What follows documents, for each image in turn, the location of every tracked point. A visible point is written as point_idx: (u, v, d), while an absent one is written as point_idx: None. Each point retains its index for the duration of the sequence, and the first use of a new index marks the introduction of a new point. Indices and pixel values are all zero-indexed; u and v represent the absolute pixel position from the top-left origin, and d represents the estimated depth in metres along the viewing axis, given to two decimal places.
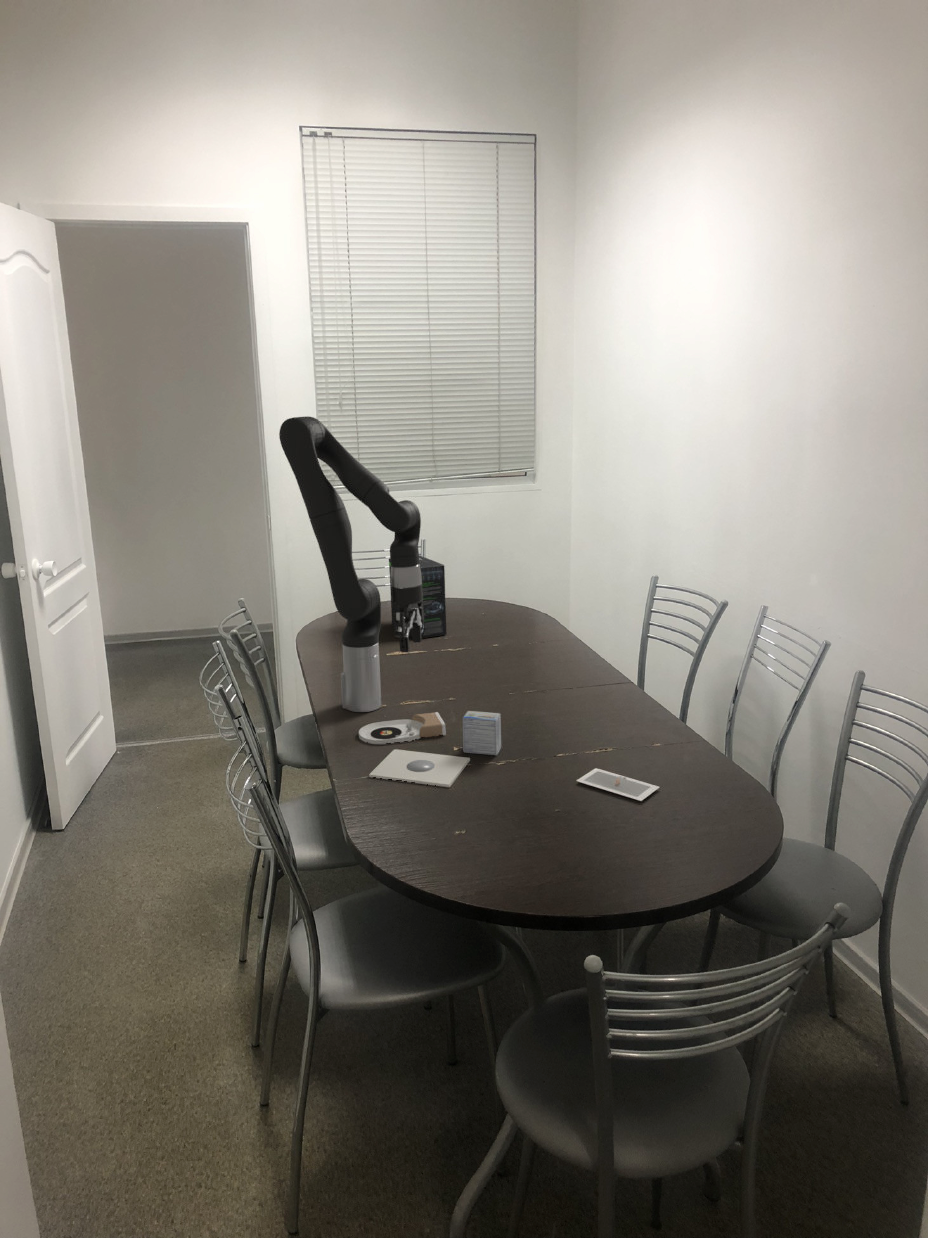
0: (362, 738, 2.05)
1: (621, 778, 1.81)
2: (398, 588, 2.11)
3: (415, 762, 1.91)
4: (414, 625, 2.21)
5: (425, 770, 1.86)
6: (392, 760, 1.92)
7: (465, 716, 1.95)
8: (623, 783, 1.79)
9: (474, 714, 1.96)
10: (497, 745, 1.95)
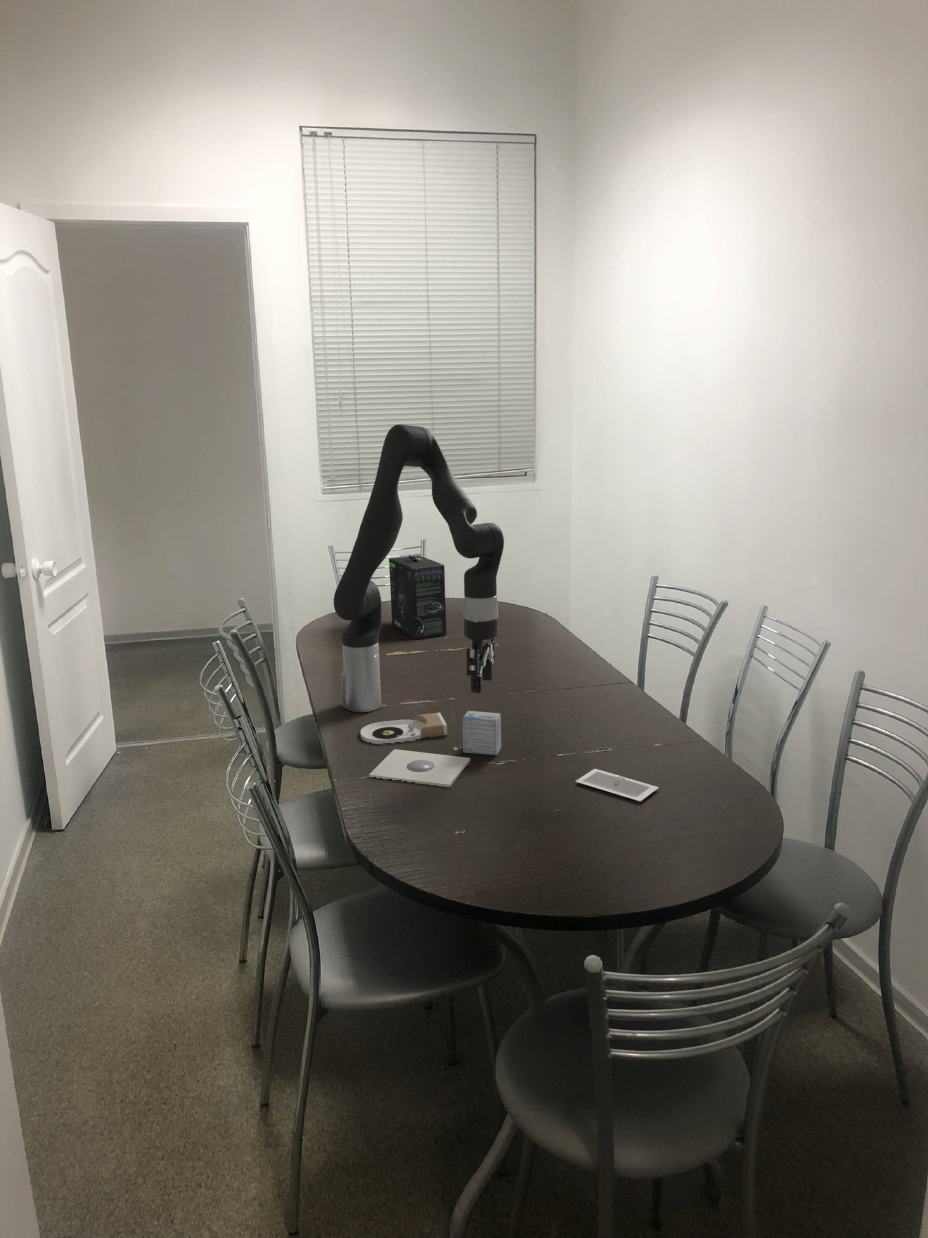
0: (363, 738, 2.05)
1: (620, 778, 1.81)
2: (472, 621, 1.87)
3: (415, 762, 1.91)
4: None
5: (425, 770, 1.86)
6: (392, 760, 1.92)
7: (465, 716, 1.95)
8: (622, 783, 1.79)
9: (474, 714, 1.96)
10: (497, 745, 1.95)
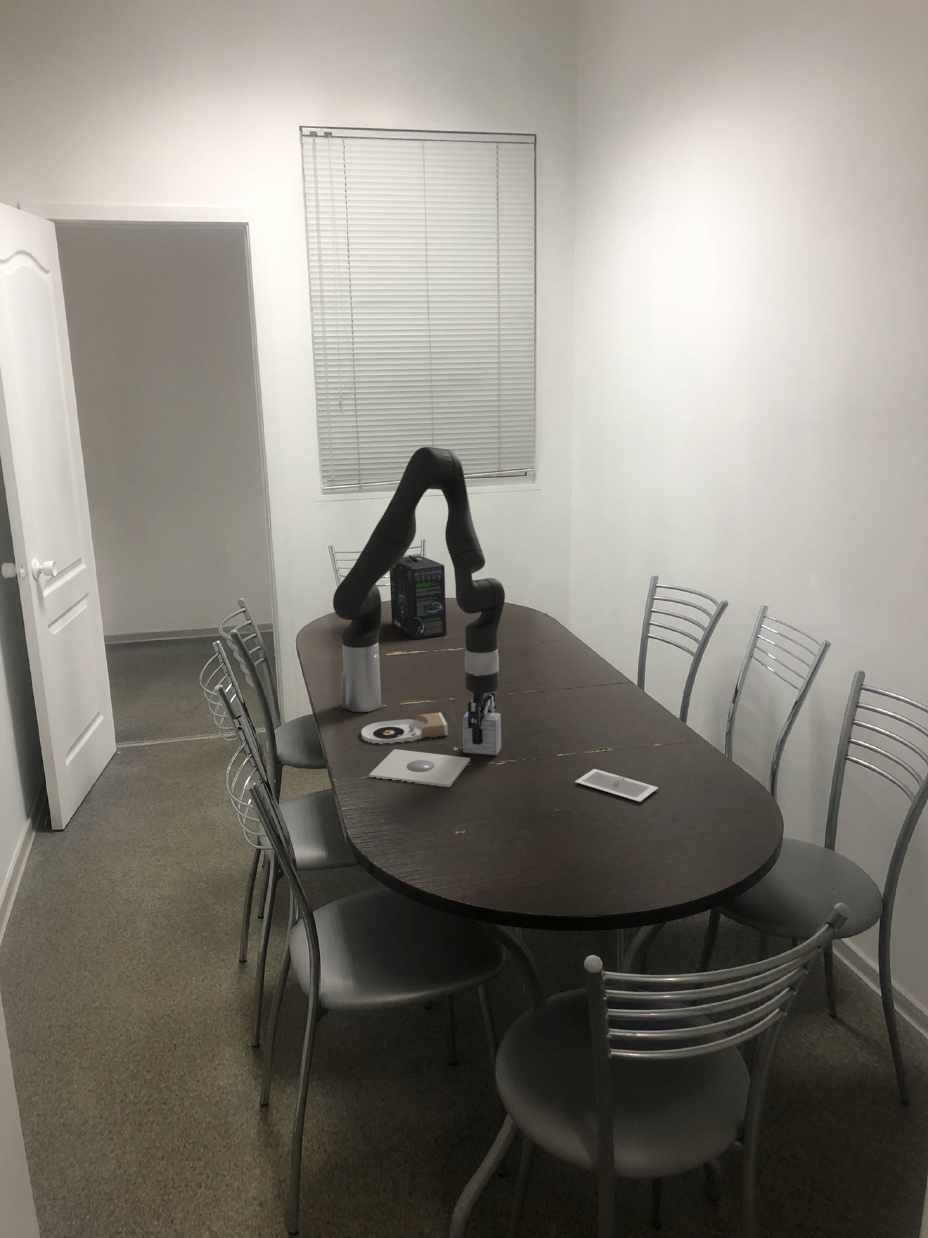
0: (364, 738, 2.05)
1: (620, 779, 1.81)
2: (474, 675, 1.90)
3: (415, 762, 1.91)
4: None
5: (425, 770, 1.86)
6: (392, 760, 1.92)
7: (465, 716, 1.95)
8: (621, 784, 1.79)
9: None
10: (497, 745, 1.95)
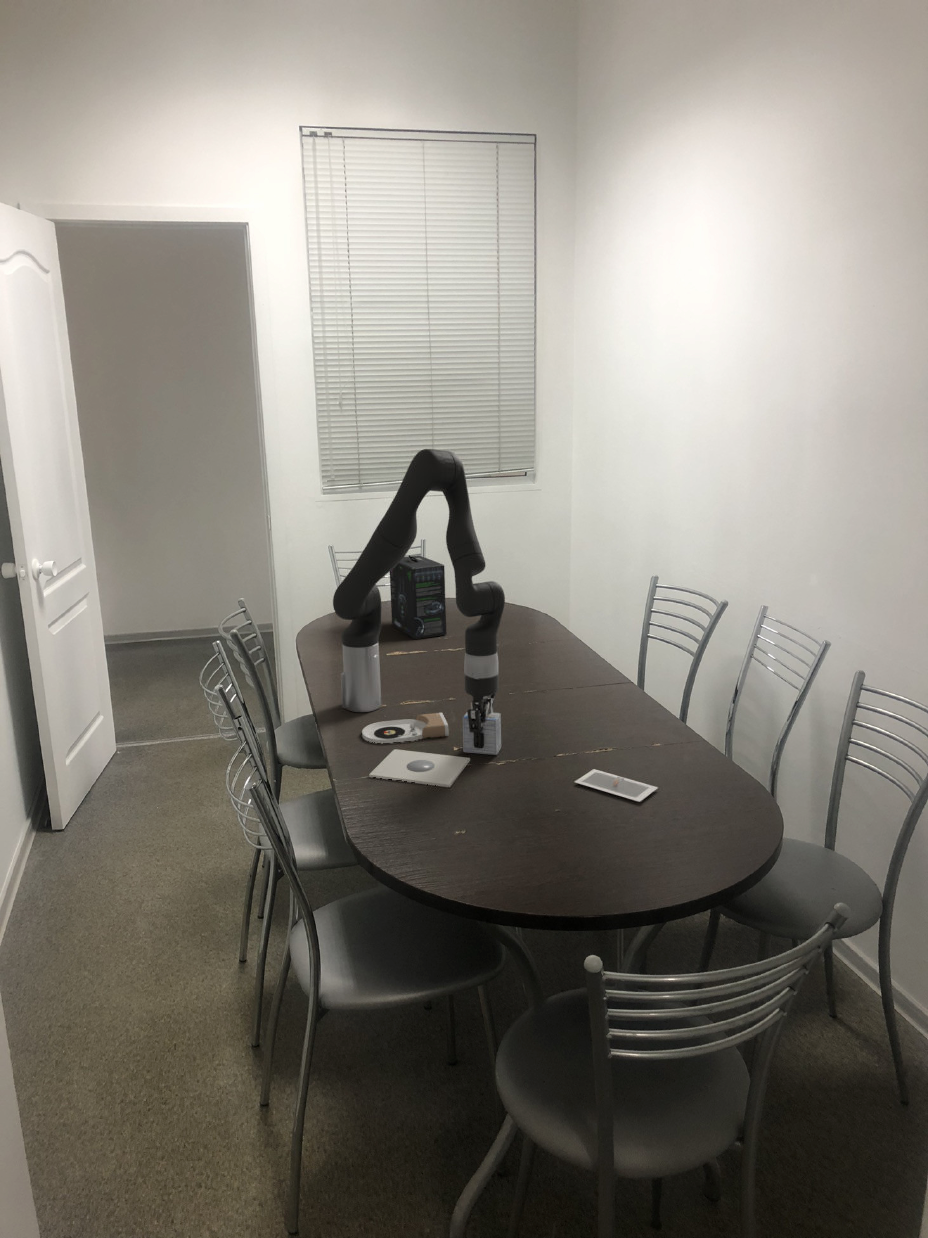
0: (365, 737, 2.05)
1: (619, 779, 1.81)
2: (473, 678, 1.90)
3: (415, 762, 1.91)
4: None
5: (425, 770, 1.86)
6: (392, 760, 1.92)
7: (465, 716, 1.95)
8: (621, 784, 1.79)
9: None
10: (497, 745, 1.95)
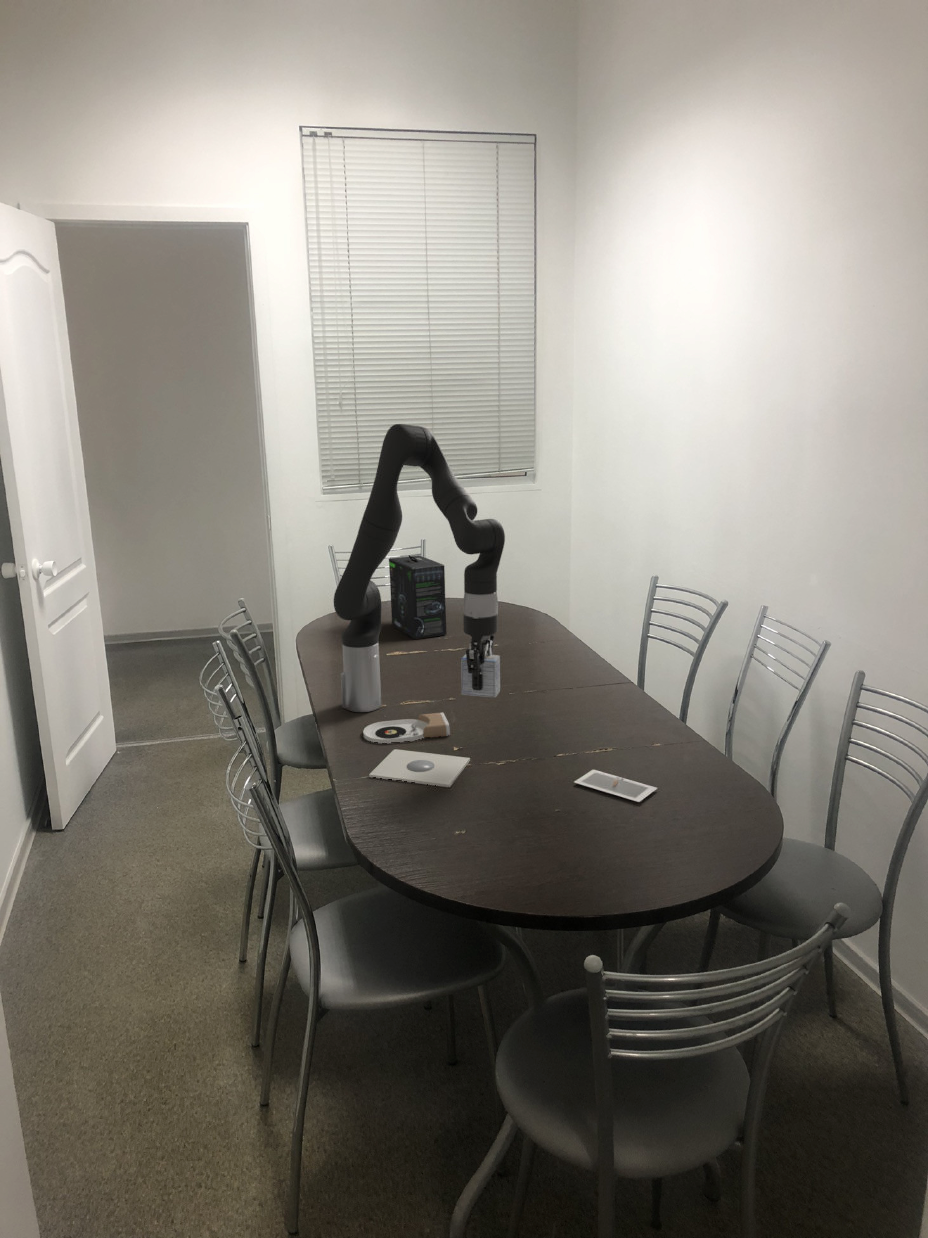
0: (366, 737, 2.05)
1: (619, 779, 1.81)
2: (472, 617, 1.87)
3: (415, 762, 1.91)
4: None
5: (425, 770, 1.86)
6: (392, 760, 1.92)
7: (464, 657, 1.92)
8: (620, 784, 1.78)
9: None
10: (496, 687, 1.92)
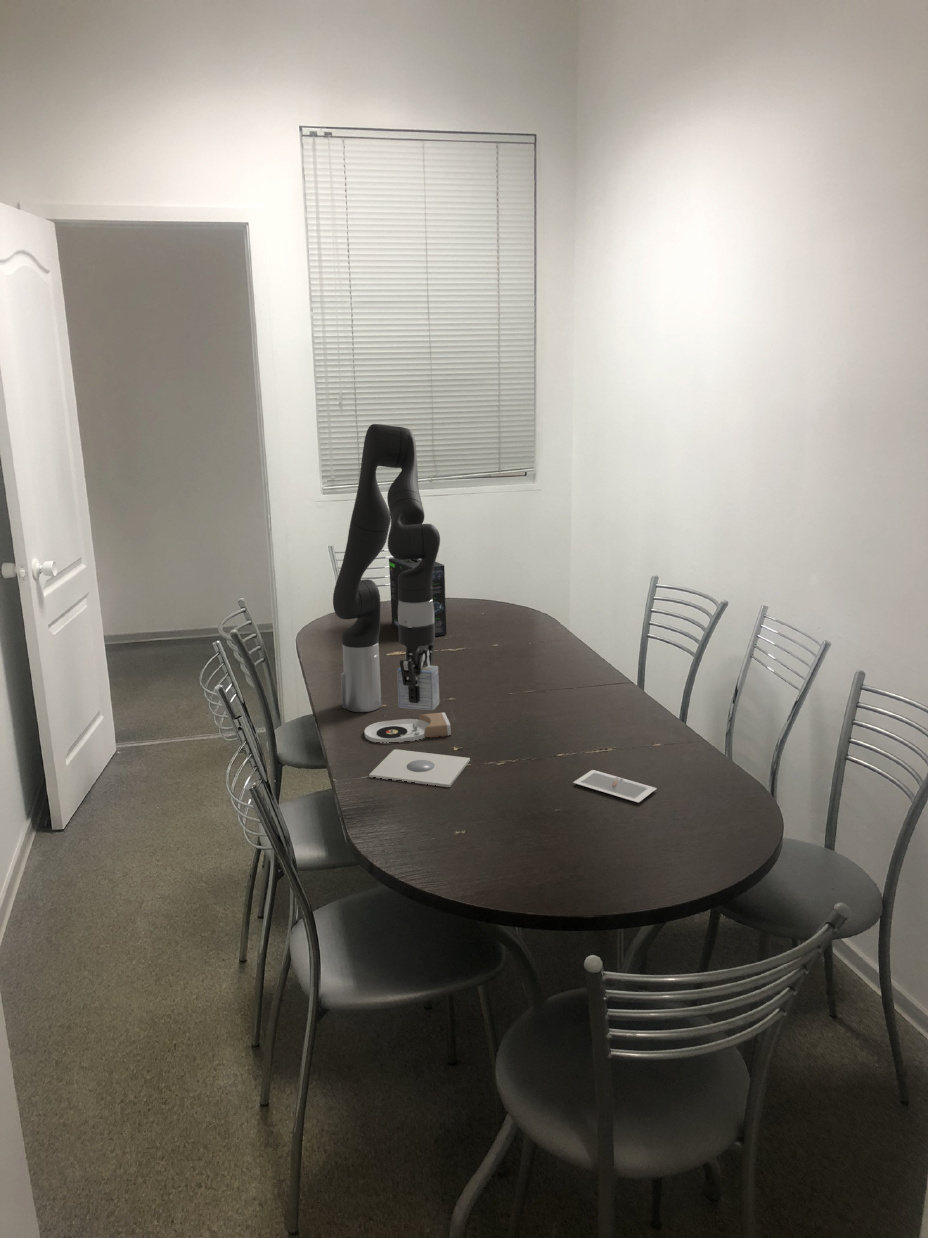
0: (367, 737, 2.05)
1: (618, 779, 1.81)
2: (406, 627, 1.78)
3: (415, 762, 1.91)
4: None
5: (425, 770, 1.86)
6: (392, 760, 1.92)
7: (400, 668, 1.83)
8: (620, 785, 1.78)
9: None
10: (434, 699, 1.83)
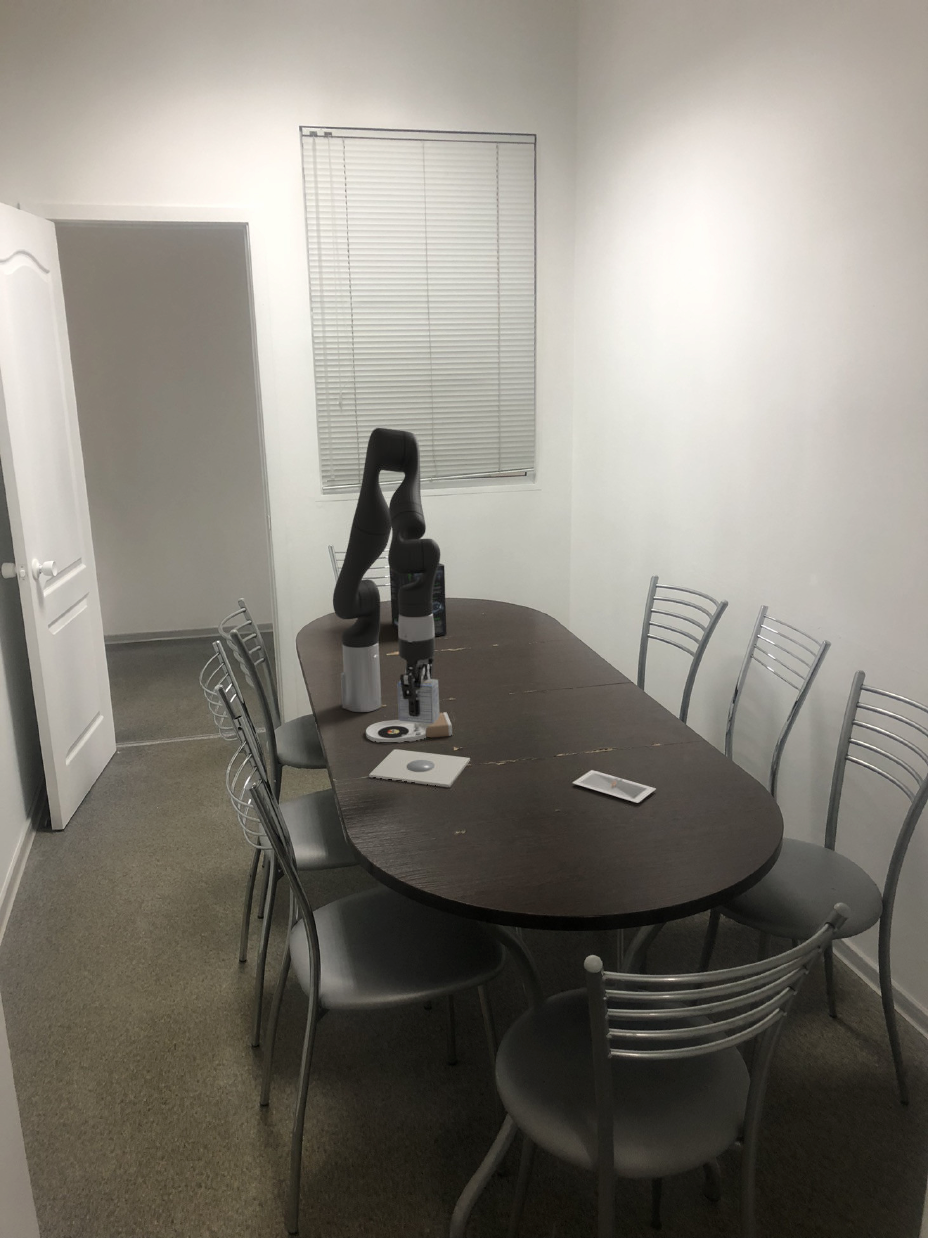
0: (368, 736, 2.06)
1: (617, 780, 1.80)
2: (407, 641, 1.78)
3: (415, 762, 1.91)
4: None
5: (425, 770, 1.86)
6: (392, 760, 1.92)
7: (400, 682, 1.84)
8: (619, 785, 1.78)
9: None
10: (434, 713, 1.83)
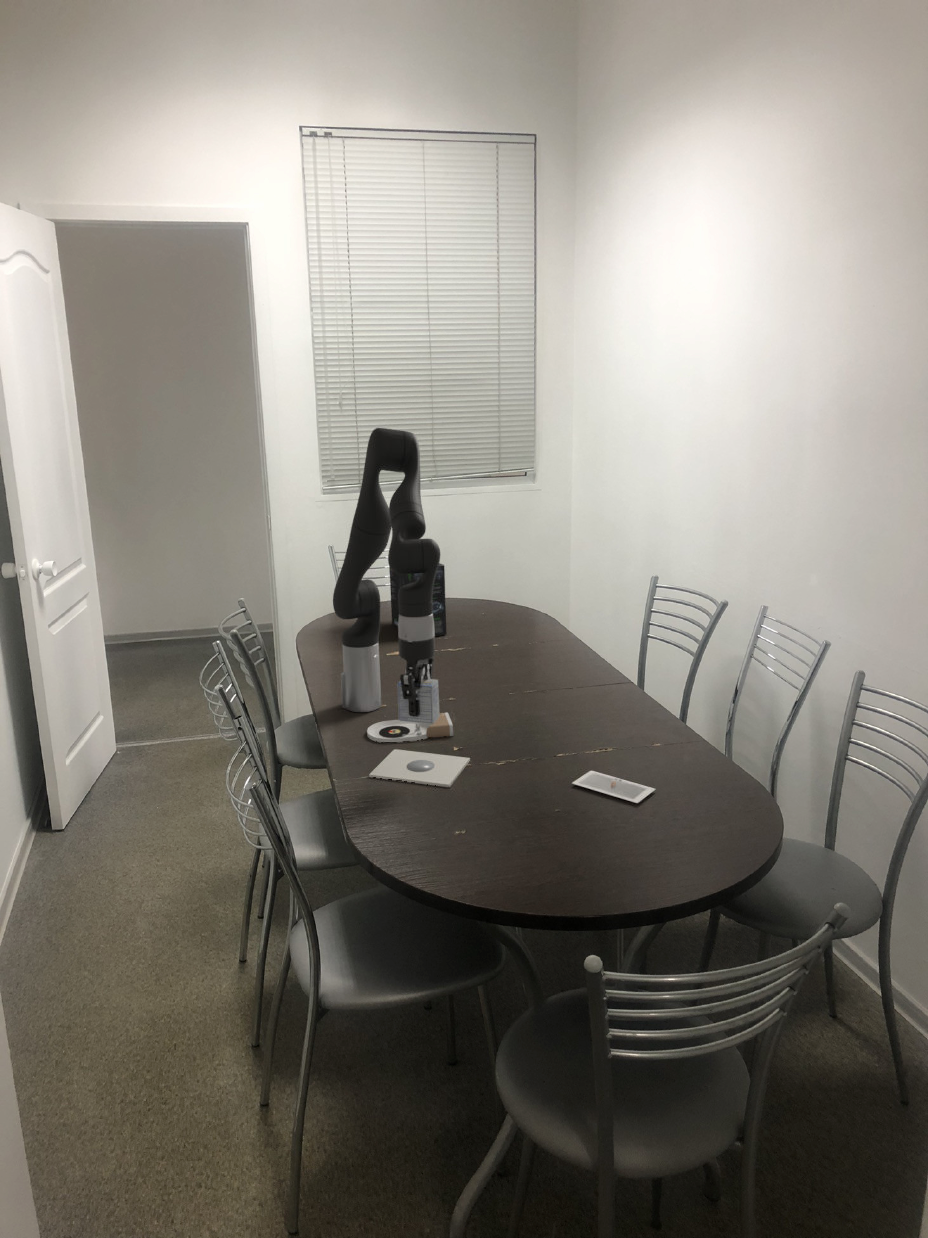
0: (369, 736, 2.06)
1: (617, 780, 1.80)
2: (407, 641, 1.78)
3: (415, 762, 1.91)
4: None
5: (425, 770, 1.86)
6: (392, 760, 1.92)
7: (400, 682, 1.84)
8: (618, 785, 1.78)
9: None
10: (434, 713, 1.83)
